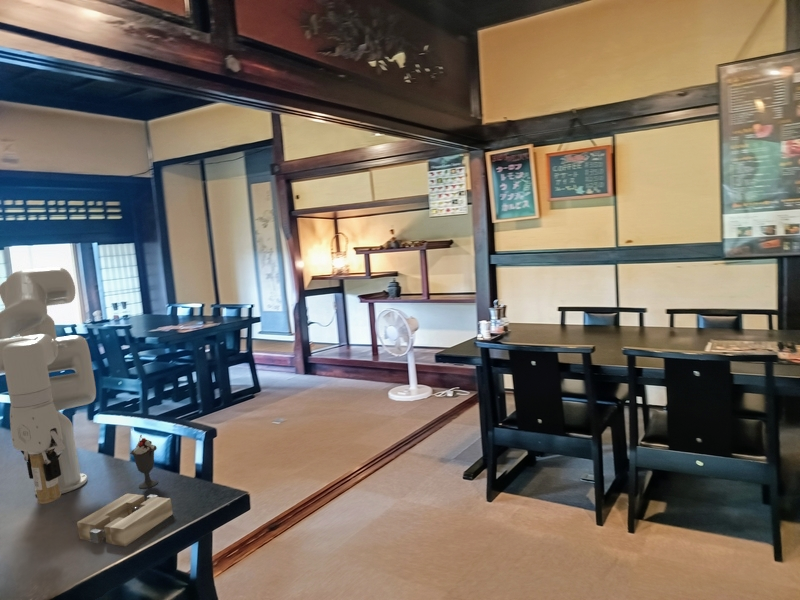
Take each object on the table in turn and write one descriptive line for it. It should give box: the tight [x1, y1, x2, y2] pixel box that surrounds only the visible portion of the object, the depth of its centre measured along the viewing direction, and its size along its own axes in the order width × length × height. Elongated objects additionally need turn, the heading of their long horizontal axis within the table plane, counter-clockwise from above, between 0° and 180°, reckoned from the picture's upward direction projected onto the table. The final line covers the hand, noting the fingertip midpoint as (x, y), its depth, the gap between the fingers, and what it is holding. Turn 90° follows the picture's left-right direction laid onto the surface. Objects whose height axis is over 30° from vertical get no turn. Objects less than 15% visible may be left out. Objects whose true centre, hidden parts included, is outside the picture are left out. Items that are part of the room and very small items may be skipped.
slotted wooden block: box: [76, 493, 174, 547], centre depth 127 cm, size 14×14×4 cm
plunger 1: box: [89, 520, 114, 544], centre depth 122 cm, size 2×7×2 cm, turn 159°
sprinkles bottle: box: [28, 444, 62, 505], centre depth 119 cm, size 5×5×14 cm
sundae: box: [129, 434, 159, 490], centre depth 149 cm, size 7×7×15 cm
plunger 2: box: [132, 494, 159, 513], centre depth 132 cm, size 2×7×2 cm, turn 159°
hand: (45, 476), depth 119 cm, fingers closed on sprinkles bottle, 4 cm apart
